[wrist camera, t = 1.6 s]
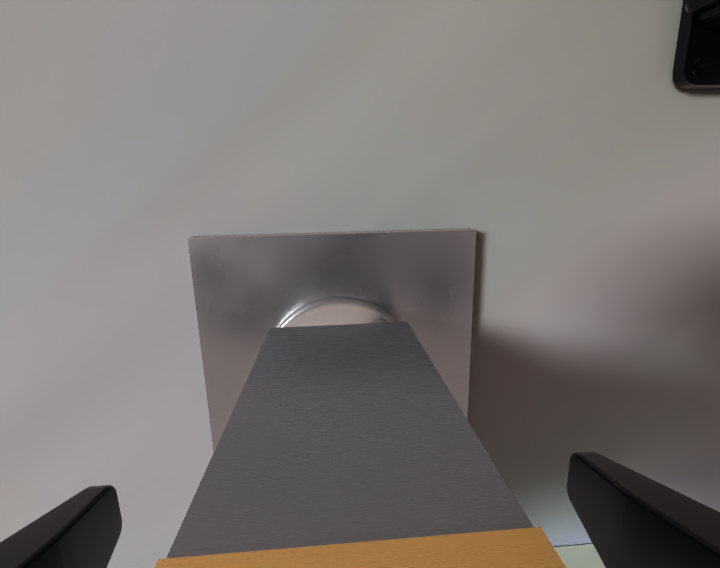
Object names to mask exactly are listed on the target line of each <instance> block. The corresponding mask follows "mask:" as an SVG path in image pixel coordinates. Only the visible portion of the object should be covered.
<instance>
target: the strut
mask: <svg viewBox="0 0 720 568" xmlns="http://www.w3.org/2000/svg"><path fill="white" fill-rule="evenodd" d="M155 568H566V566H565V565H564V563H563V562H562V560H561V559H560V557H559V555H558V554H557V552H556V551H555V549H554V548H553V546H552V544H551V543H550V541H549V540H548V538H547V536H546V535H545V533H544V532H543V530H542V529H541V527H533V526H532V524H531V523H530V521H529V519H528V518H527V516H526V514H525V513H524V511H523V509H522V508H521V506H520V505H519V503H518V501H517V500H516V498H515V496H514V495H513V493H512V492H511V490H510V488H509V487H508V485H507V483H506V482H505V480H504V479H503V477H502V475H501V474H500V472H499V470H498V469H497V467H496V465H495V464H494V462H493V461H492V459H491V457H490V456H489V454H488V452H487V451H486V449H485V448H484V446H483V444H482V443H481V441H480V439H479V438H478V436H477V435H476V433H475V431H474V430H473V428H472V426H471V425H470V423H469V421H468V420H467V418H466V417H465V415H464V413H463V412H462V410H461V408H460V407H459V405H458V404H457V402H456V400H455V399H454V397H453V395H452V394H451V392H450V390H449V389H448V387H447V386H446V384H445V382H444V381H443V379H442V377H441V376H440V374H439V373H438V371H437V369H436V368H435V366H434V364H433V363H432V361H431V360H430V358H429V356H428V355H427V353H426V351H425V350H424V348H423V346H422V345H421V343H420V342H419V340H418V338H417V337H416V335H415V333H414V332H413V330H412V329H411V327H410V325H409V324H408V322H390V323H367V324H345V325H323V326H301V327H278V328H270V329H269V331H268V334H267V336H266V338H265V340H264V343H263V345H262V347H261V349H260V351H259V354H258V356H257V358H256V360H255V363H254V365H253V367H252V369H251V371H250V374H249V376H248V378H247V380H246V383H245V385H244V387H243V389H242V392H241V394H240V396H239V398H238V400H237V403H236V405H235V407H234V409H233V412H232V414H231V416H230V418H229V420H228V423H227V425H226V427H225V429H224V432H223V434H222V436H221V438H220V440H219V443H218V445H217V447H216V449H215V452H214V454H213V456H212V458H211V460H210V463H209V465H208V467H207V469H206V472H205V474H204V476H203V478H202V480H201V483H200V485H199V487H198V489H197V492H196V494H195V496H194V498H193V500H192V503H191V505H190V507H189V509H188V512H187V514H186V516H185V518H184V520H183V523H182V525H181V527H180V529H179V532H178V534H177V536H176V538H175V541H174V543H173V545H172V547H171V549H170V552H169V554H168V556H167V558H166V559H159V560H158V562H157V564H156V566H155Z"/></svg>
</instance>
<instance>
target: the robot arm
mask: <svg viewBox="0 0 720 568" xmlns="http://www.w3.org/2000/svg"><path fill="white" fill-rule="evenodd" d="M693 64H694V66H695V69H696V72H695V74H693V72H692V65H693ZM673 79H674V81H675V84H677V85H678V86H679V87H680V88H685V89H720V0H683V7H682V14H681V21H680V27H679V34H678V41H677V48H676V54H675V61H674V68H673ZM567 492H568V496H569V499H570V501H571V503H572V505H573V507H574V509H575V511H576V513H577V515H578V516H579V518H580V520H581V522H582V524H583V526H584V528H585V530H586V532H587V534H588V536H589V537H590V539H591V541H592V543H593V545H594V547H595V549H596V551H597V553H598V555H599V556H600V558H601V560H602V562H603V564H604V566H605V568H720V512H718V511H716V510H714V509H712V508H710V507H707V506H705V505H703V504H701V503H699V502H697V501H695V500H693V499H691V498H689V497H687V496H685V495H683V494H680V493H678V492H676V491H674V490H672V489H670V488H668V487H666V486H664V485H662V484H660V483H658V482H656V481H654V480H651V479H649V478H647V477H645V476H643V475H641V474H639V473H637V472H635V471H633V470H631V469H629V468H627V467H625V466H622V465H620V464H618V463H616V462H614V461H612V460H610V459H608V458H606V457H604V456H602V455H600V454H598V453H595V452H576V453H574V454H572V456H571V458H570V464H569V472H568V481H567ZM121 528H122V518H121V513H120V508H119V502H118V497H117V492H116V489H115V488H114V487H113V486H111V485H102V486H91V487H88V488H86V489H84V490H83V491H81V492H80V493H78V494H76V495H75V496H73V497H72V498H70V499H69V500H67V501H65V502H64V503H62V504H61V505H59V506H57V507H56V508H54V509H53V510H51V511H50V512H48V513H46V514H45V515H43V516H42V517H40V518H38V519H37V520H35V521H34V522H32V523H30V524H29V525H27V526H26V527H24V528H23V529H21V530H19V531H18V532H16V533H15V534H13V535H11V536H10V537H8V538H7V539H5V540H3V541H2V542H0V568H107V566H108V563H109V561H110V558H111V556H112V553H113V551H114V548H115V546H116V543H117V541H118V539H119V536H120V533H121Z"/></svg>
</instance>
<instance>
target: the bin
mask: <svg viewBox="0 0 720 568" xmlns="http://www.w3.org/2000/svg"><path fill="white" fill-rule="evenodd" d="M553 548H554V549H555V551H556V552H557V554H558V555H559V557H560V559H561V560H562V562H563V563H564V565H565V566H566V568H605V566H604V564H603V562H602V560H601V558H600V556H599V555H598V553H597V551H596V549H595V547H594V545H593V544H585V545H574V546H562V547H553Z"/></svg>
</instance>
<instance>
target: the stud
mask: <svg viewBox="0 0 720 568" xmlns="http://www.w3.org/2000/svg"><path fill="white" fill-rule="evenodd" d="M188 245H189V253H190V261H191V269H192V277H193V286H194V294H195V302H196V310H197V318H198V327H199V335H200V343H201V351H202V359H203V368H204V376H205V384H206V392H207V400H208V409H209V417H210V425H211V433H212V441H213V450H214V452H215V449H216V447H217V445H218V443H219V440H220V438H221V436H222V434H223V432H224V429H225V427H226V425H227V423H228V420H229V418H230V416H231V414H232V412H233V409H234V407H235V405H236V403H237V400H238V398H239V396H240V394H241V392H242V389H243V387H244V385H245V383H246V380H247V378H248V376H249V374H250V371H251V369H252V367H253V365H254V363H255V360H256V358H257V356H258V354H259V351H260V349H261V347H262V345H263V343H264V340H265V338H266V336H267V334H268V331H269V329H270V328H278V327H301V326H323V325H345V324H367V323H390V322H408V324H409V325H410V327H411V329H412V330H413V332H414V333H415V335H416V337H417V338H418V340H419V342H420V343H421V345H422V346H423V348H424V350H425V351H426V353H427V355H428V356H429V358H430V360H431V361H432V363H433V364H434V366H435V368H436V369H437V371H438V373H439V374H440V376H441V377H442V379H443V381H444V382H445V384H446V386H447V387H448V389H449V390H450V392H451V394H452V395H453V397H454V399H455V400H456V402H457V404H458V405H459V407H460V408H461V410H462V412H463V413H464V415H465V417H466V418H468V397H469V376H470V355H471V333H472V312H473V291H474V270H475V249H476V230H474V229H435V230H399V231H364V232H328V233H293V234H257V235H222V236H194V237H190V238H188Z"/></svg>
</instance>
